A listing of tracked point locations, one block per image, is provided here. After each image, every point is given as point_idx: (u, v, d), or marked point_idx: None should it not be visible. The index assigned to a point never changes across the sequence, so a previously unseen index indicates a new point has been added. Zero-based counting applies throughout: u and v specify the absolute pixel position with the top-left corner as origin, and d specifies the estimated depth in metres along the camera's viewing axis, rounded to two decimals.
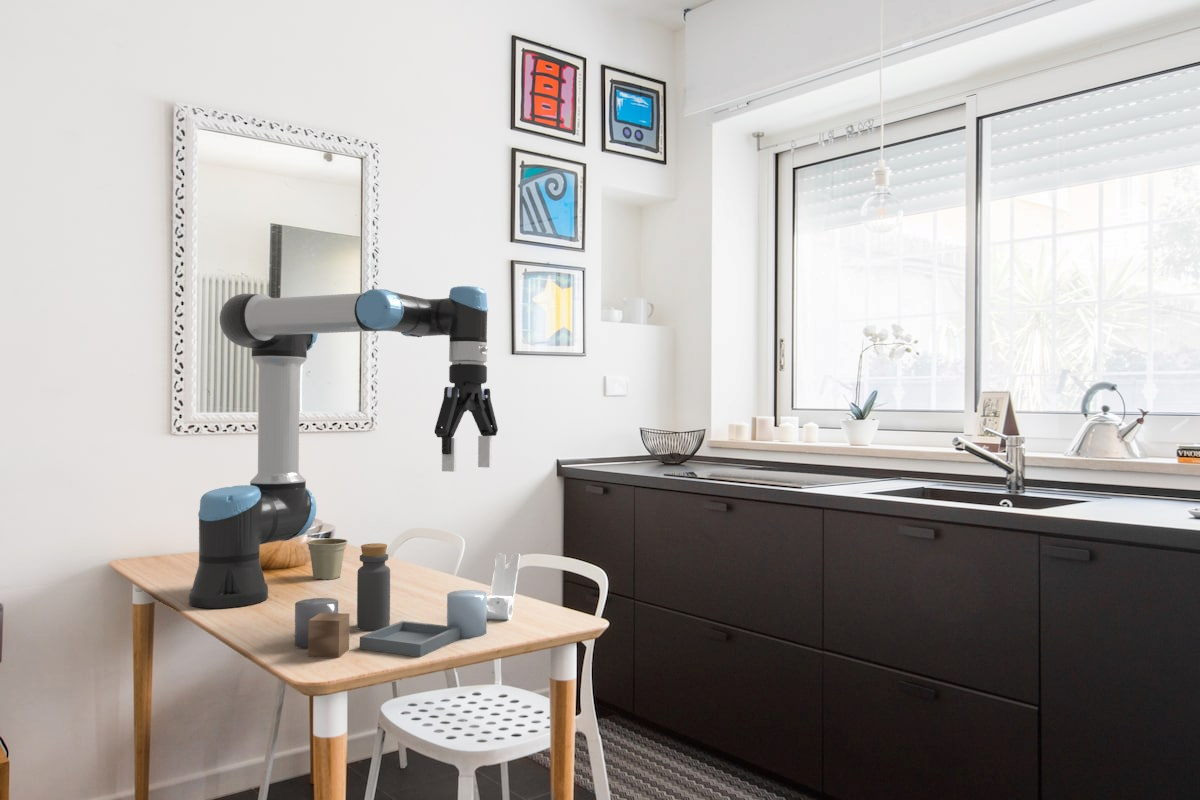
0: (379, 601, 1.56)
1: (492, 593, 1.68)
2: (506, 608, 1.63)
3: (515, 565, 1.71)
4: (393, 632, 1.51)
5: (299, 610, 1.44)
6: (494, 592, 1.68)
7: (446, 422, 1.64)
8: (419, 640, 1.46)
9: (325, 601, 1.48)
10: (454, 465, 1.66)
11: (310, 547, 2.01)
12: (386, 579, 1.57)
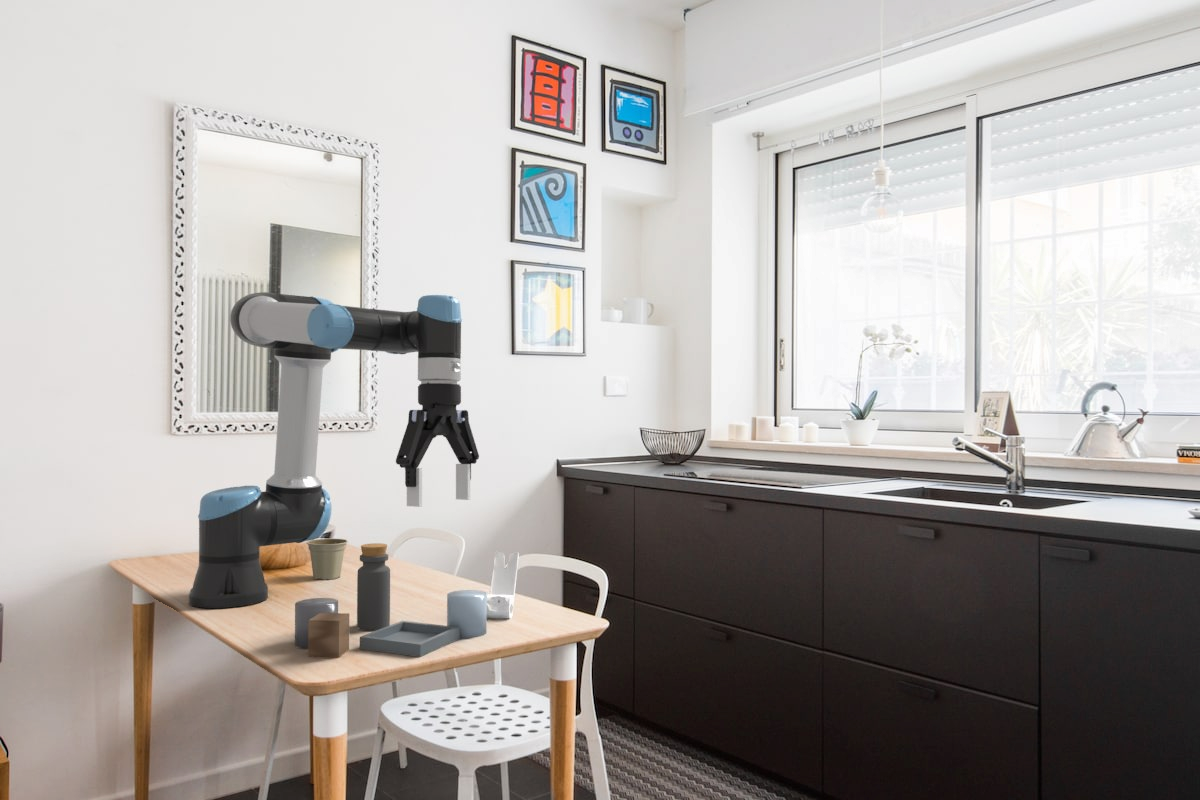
0: (379, 601, 1.56)
1: (492, 592, 1.69)
2: (507, 607, 1.64)
3: (514, 564, 1.72)
4: (393, 632, 1.51)
5: (299, 610, 1.44)
6: (494, 591, 1.69)
7: (408, 450, 1.44)
8: (419, 640, 1.46)
9: (325, 601, 1.48)
10: (419, 499, 1.45)
11: (310, 547, 2.01)
12: (386, 579, 1.57)
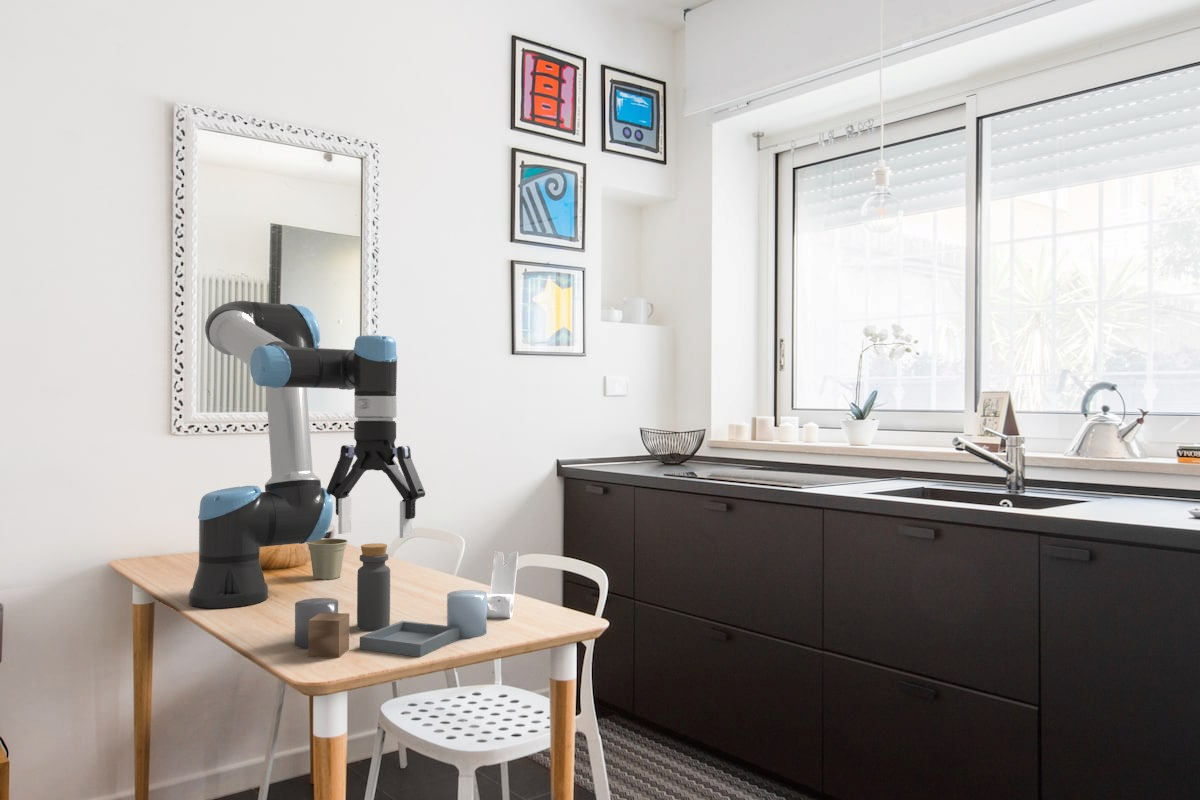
0: (379, 601, 1.56)
1: (492, 592, 1.69)
2: (508, 606, 1.64)
3: (514, 563, 1.72)
4: (393, 632, 1.51)
5: (299, 610, 1.44)
6: (494, 591, 1.70)
7: None
8: (419, 640, 1.46)
9: (325, 601, 1.48)
10: (339, 527, 1.60)
11: (310, 547, 2.01)
12: (386, 579, 1.57)
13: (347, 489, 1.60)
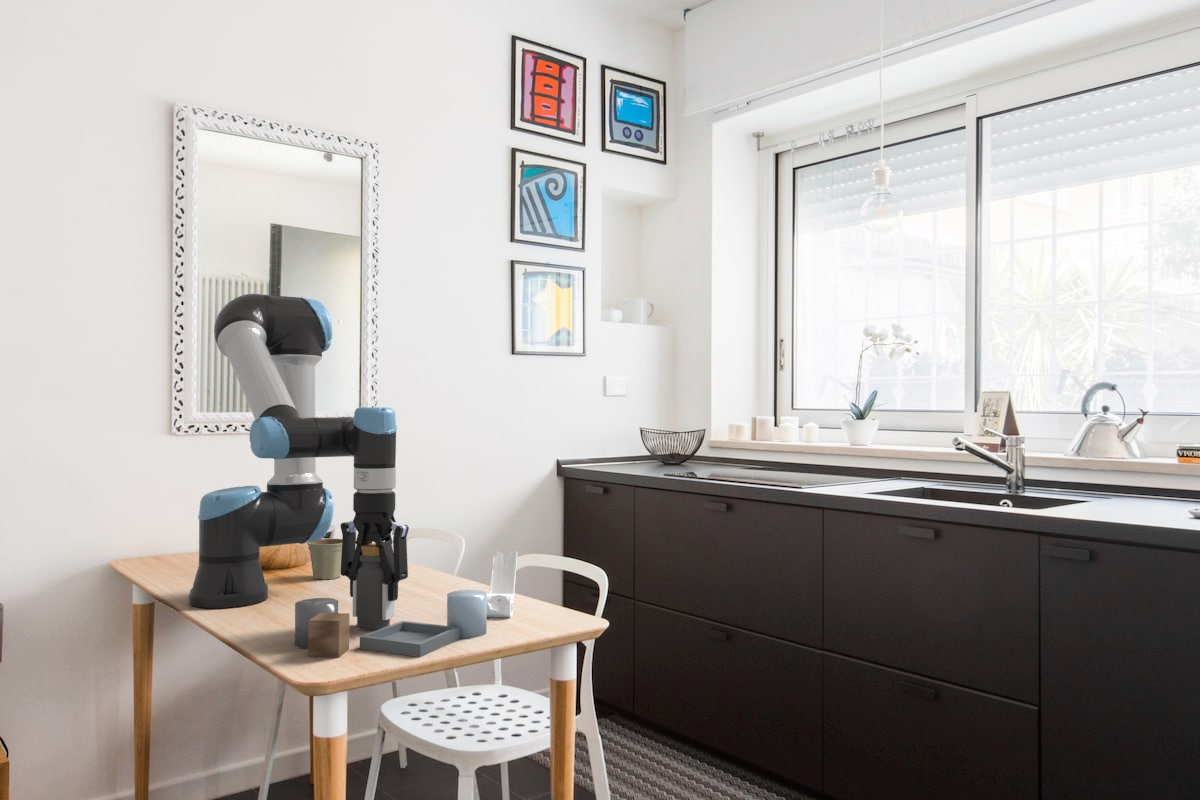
0: (379, 601, 1.56)
1: (491, 591, 1.70)
2: (508, 606, 1.65)
3: (513, 563, 1.73)
4: (393, 632, 1.51)
5: (299, 610, 1.44)
6: (493, 590, 1.70)
7: None
8: (419, 640, 1.46)
9: (325, 601, 1.48)
10: (354, 610, 1.58)
11: (310, 547, 2.01)
12: None
13: None
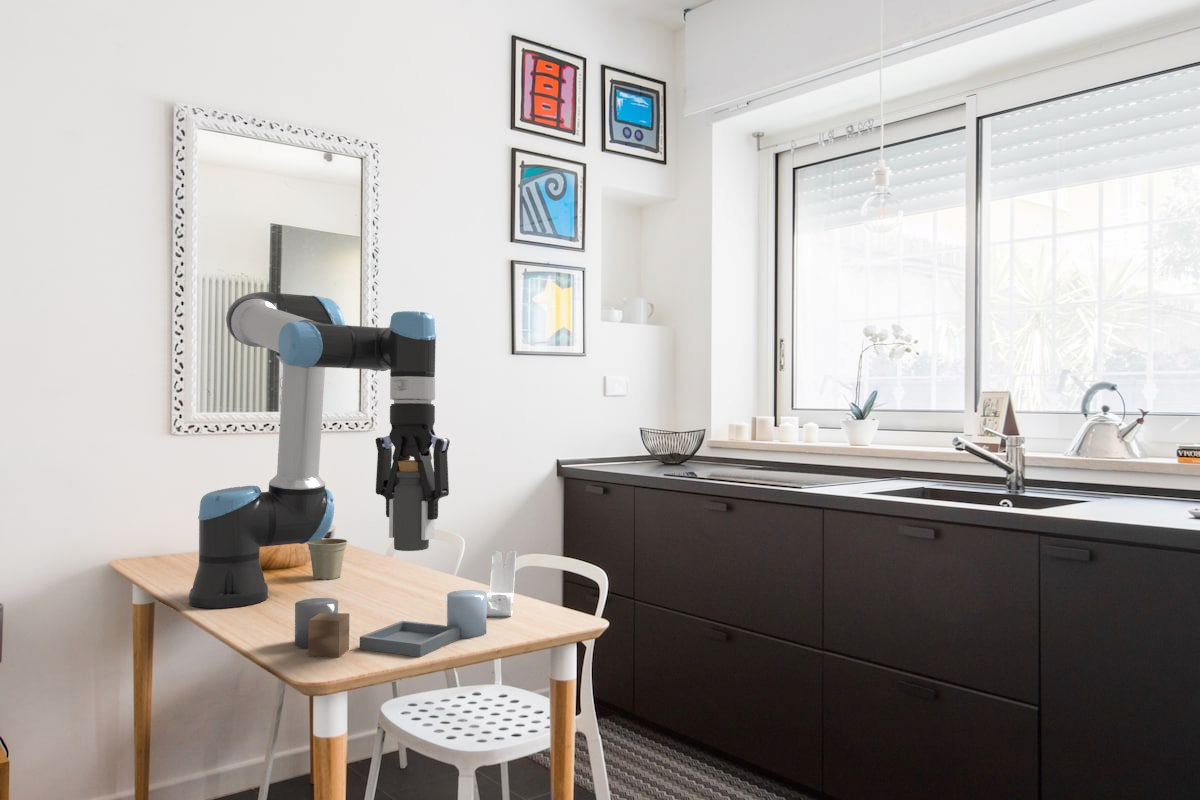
0: (418, 519, 1.45)
1: (491, 590, 1.71)
2: (509, 605, 1.66)
3: (512, 562, 1.74)
4: (393, 632, 1.51)
5: (299, 610, 1.44)
6: (493, 589, 1.71)
7: None
8: (419, 640, 1.46)
9: (325, 601, 1.48)
10: (390, 530, 1.47)
11: (310, 547, 2.01)
12: None
13: None
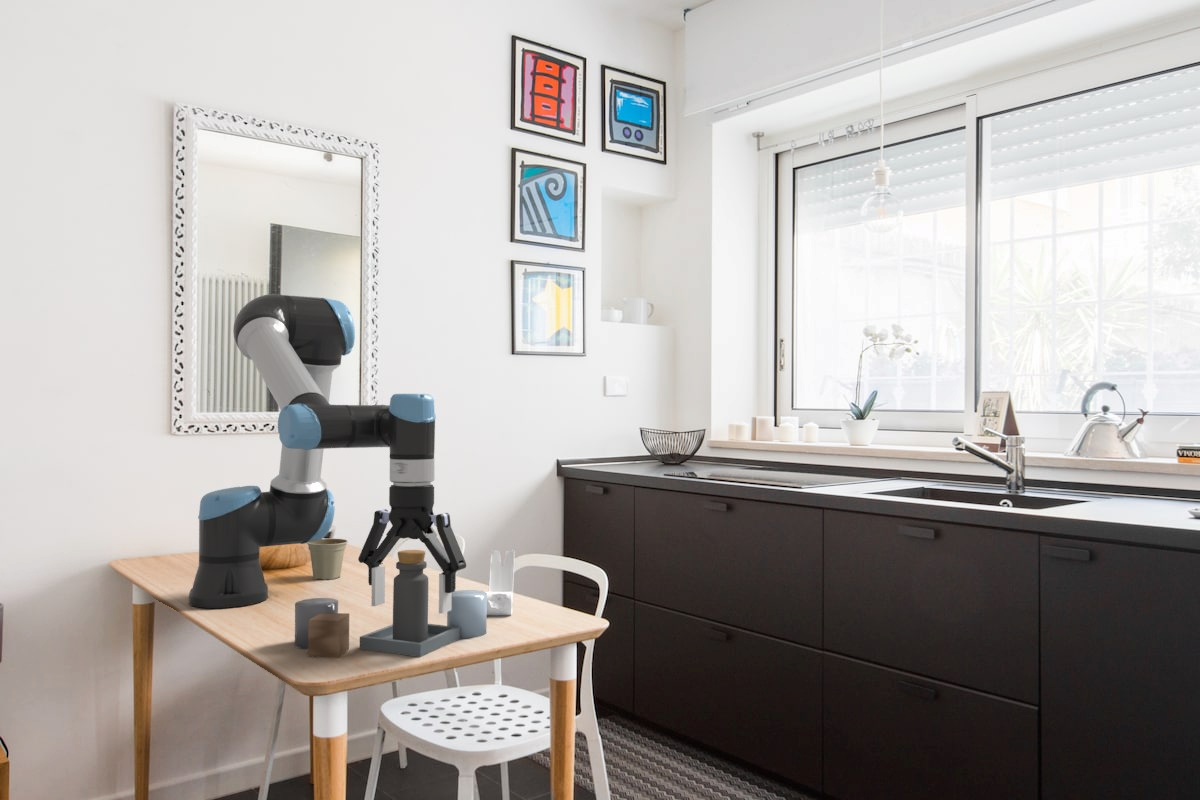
0: (417, 612, 1.45)
1: (490, 590, 1.71)
2: (509, 603, 1.66)
3: (511, 561, 1.75)
4: None
5: (299, 610, 1.44)
6: (492, 589, 1.71)
7: None
8: None
9: (325, 601, 1.48)
10: (372, 599, 1.48)
11: (310, 547, 2.01)
12: (425, 588, 1.46)
13: (381, 557, 1.49)
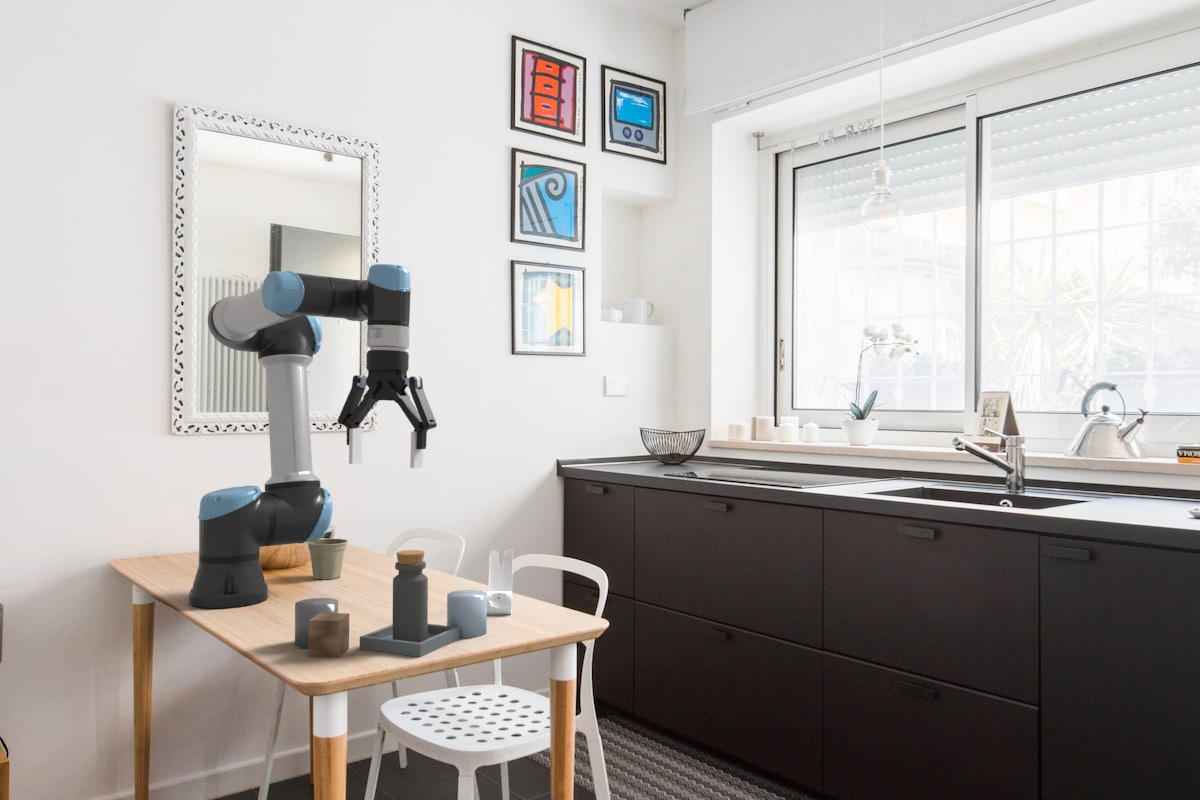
0: (417, 612, 1.44)
1: (490, 589, 1.72)
2: (510, 603, 1.67)
3: (509, 561, 1.75)
4: None
5: (299, 610, 1.44)
6: (491, 588, 1.72)
7: None
8: None
9: (325, 601, 1.48)
10: (350, 457, 1.59)
11: (310, 547, 2.01)
12: (424, 588, 1.46)
13: (358, 419, 1.60)
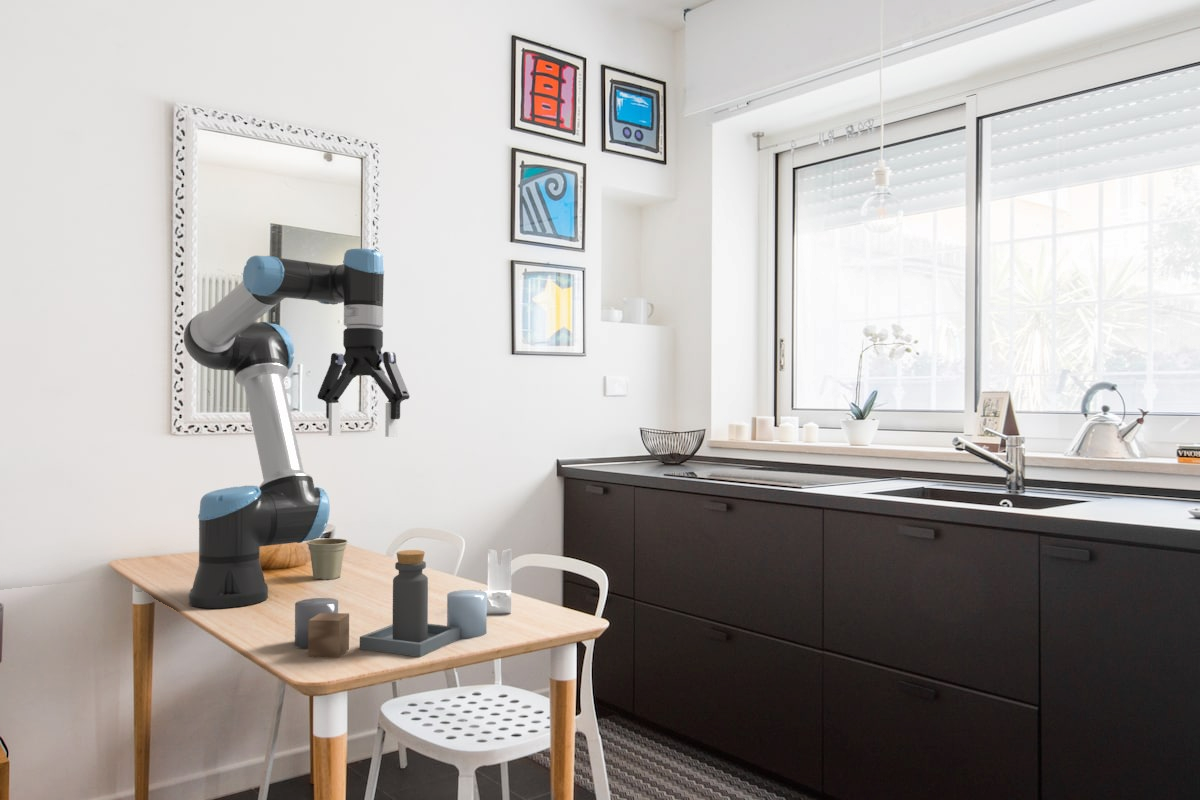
0: (417, 612, 1.44)
1: (489, 588, 1.72)
2: (509, 602, 1.68)
3: (508, 560, 1.76)
4: None
5: (299, 610, 1.44)
6: (490, 587, 1.73)
7: None
8: None
9: (325, 601, 1.48)
10: (329, 429, 1.71)
11: (310, 547, 2.01)
12: (424, 588, 1.46)
13: (337, 394, 1.72)
